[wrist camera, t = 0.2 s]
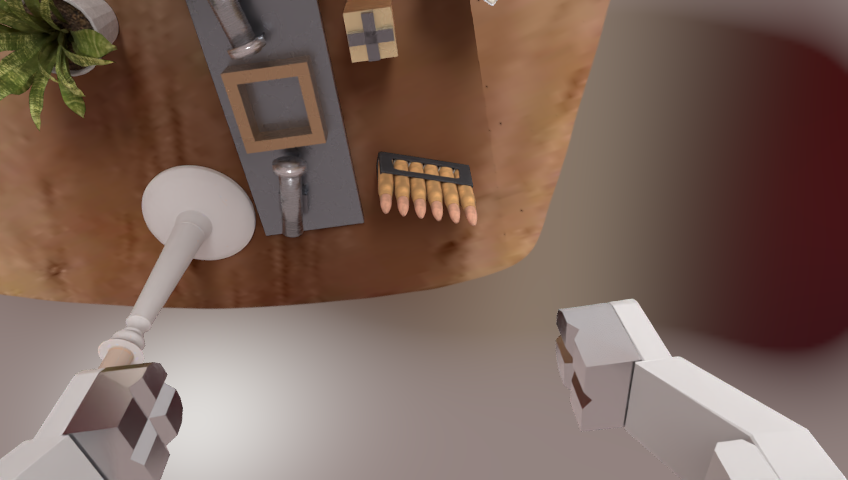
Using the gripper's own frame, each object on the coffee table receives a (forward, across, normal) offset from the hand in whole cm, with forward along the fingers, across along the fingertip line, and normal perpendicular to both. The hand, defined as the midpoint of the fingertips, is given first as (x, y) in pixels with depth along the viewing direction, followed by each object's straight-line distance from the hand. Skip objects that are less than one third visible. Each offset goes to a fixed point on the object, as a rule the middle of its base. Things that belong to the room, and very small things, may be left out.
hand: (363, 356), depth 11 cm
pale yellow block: (+48, +1, +2) cm, 48 cm away
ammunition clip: (+48, -2, +19) cm, 52 cm away
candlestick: (+48, +25, +22) cm, 58 cm away
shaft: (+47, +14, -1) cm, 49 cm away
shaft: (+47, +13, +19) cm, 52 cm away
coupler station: (+48, +12, +9) cm, 50 cm away
